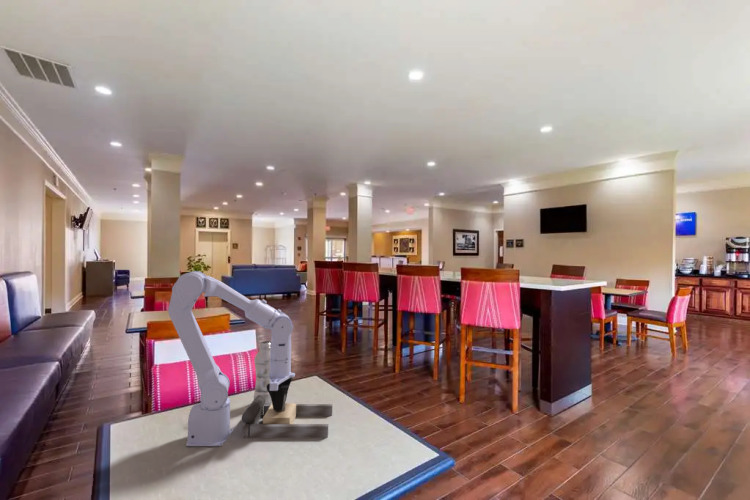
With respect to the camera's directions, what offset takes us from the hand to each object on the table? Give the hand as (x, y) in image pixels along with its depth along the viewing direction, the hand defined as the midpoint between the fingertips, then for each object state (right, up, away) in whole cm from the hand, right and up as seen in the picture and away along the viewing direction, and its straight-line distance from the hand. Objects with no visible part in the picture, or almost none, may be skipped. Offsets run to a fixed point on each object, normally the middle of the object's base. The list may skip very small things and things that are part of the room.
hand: (279, 407), depth 96 cm
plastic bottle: (-9, -6, +16) cm, 19 cm away
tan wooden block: (0, -5, 0) cm, 5 cm away
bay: (+3, -6, 0) cm, 7 cm away
